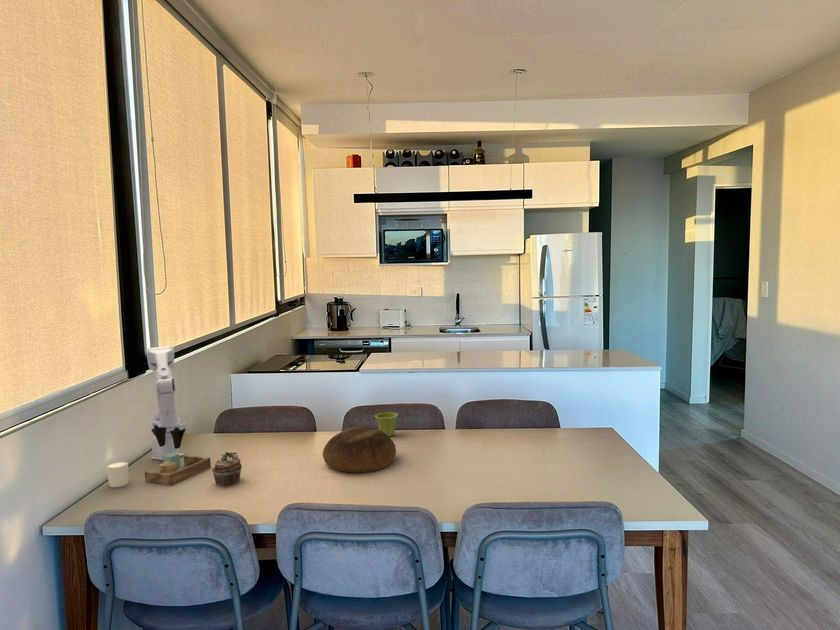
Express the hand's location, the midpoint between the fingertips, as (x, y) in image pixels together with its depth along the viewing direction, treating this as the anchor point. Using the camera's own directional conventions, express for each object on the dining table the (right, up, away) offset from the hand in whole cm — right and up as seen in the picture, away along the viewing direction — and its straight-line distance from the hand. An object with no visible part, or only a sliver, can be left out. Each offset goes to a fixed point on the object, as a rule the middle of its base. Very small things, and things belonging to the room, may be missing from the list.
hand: (169, 446), depth 221 cm
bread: (+70, -6, +1) cm, 71 cm away
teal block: (0, -8, +2) cm, 9 cm away
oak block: (+3, -9, -8) cm, 12 cm away
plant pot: (+78, -3, +34) cm, 85 cm away
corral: (+5, -9, -5) cm, 11 cm away
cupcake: (+26, -9, -15) cm, 31 cm away
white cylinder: (-12, -10, -13) cm, 21 cm away
